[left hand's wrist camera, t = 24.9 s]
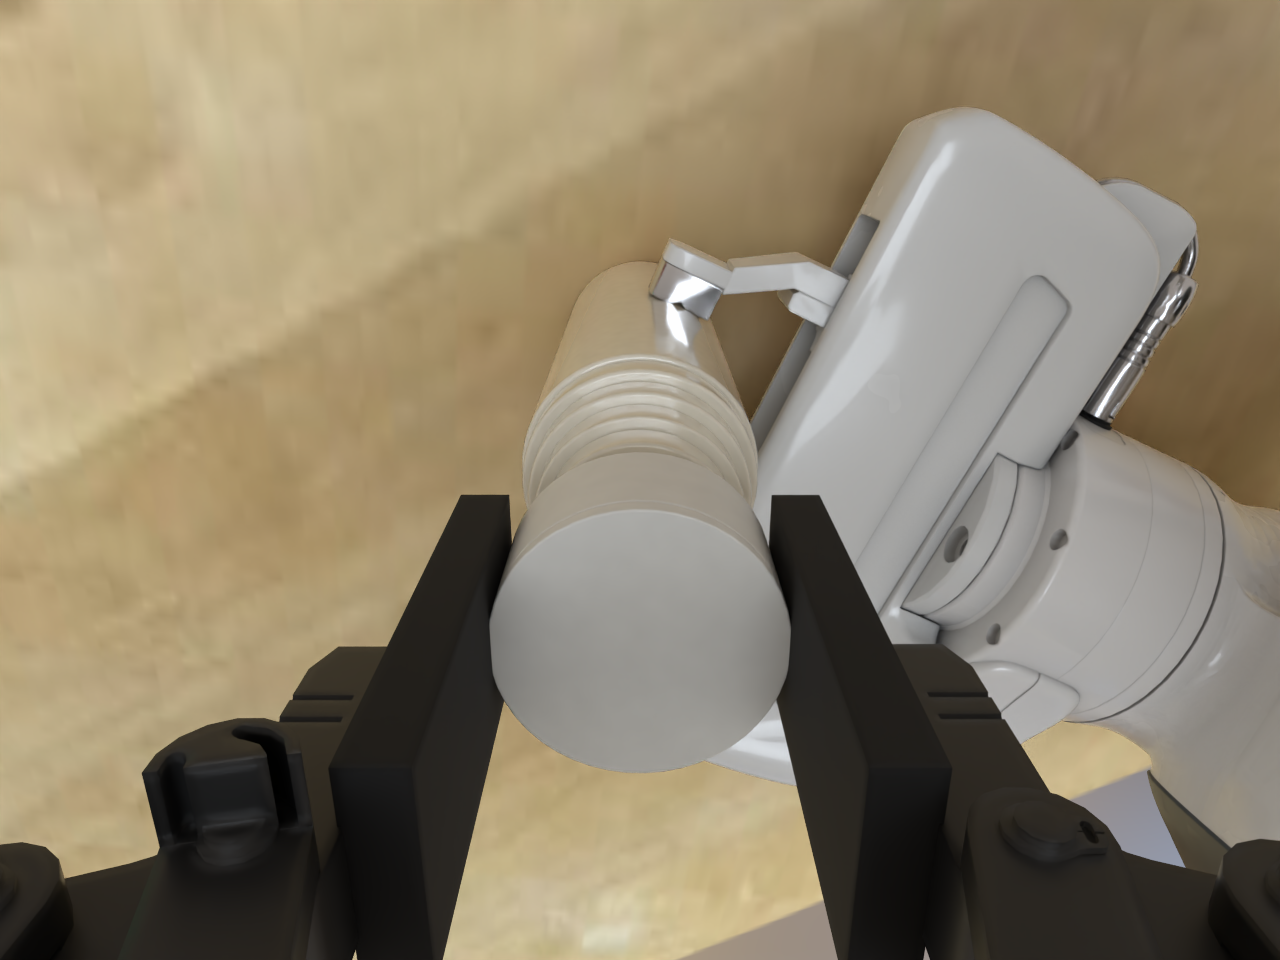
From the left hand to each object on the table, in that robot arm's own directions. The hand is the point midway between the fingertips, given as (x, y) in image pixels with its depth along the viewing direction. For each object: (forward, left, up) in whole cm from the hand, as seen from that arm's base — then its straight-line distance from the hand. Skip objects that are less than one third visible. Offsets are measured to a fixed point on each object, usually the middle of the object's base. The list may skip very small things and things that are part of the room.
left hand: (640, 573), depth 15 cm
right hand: (+1, +1, -12) cm, 12 cm away
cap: (0, 0, +2) cm, 2 cm away
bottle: (0, 0, -18) cm, 18 cm away
